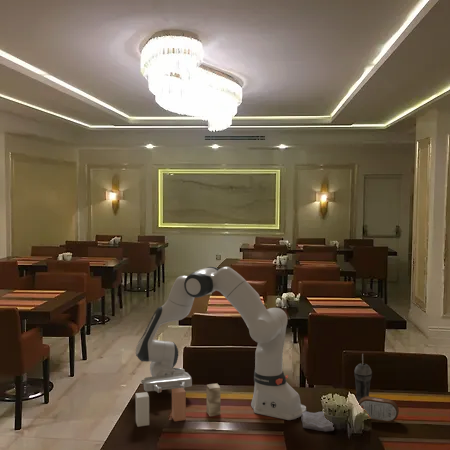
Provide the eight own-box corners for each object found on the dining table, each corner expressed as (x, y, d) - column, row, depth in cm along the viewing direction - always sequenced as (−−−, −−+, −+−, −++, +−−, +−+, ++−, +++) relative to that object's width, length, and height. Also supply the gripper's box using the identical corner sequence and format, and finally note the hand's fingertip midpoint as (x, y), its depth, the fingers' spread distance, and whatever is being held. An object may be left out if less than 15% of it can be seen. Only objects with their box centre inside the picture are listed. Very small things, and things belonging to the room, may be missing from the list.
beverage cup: (373, 399, 217) (374, 352, 216) (368, 405, 211) (369, 357, 210) (356, 395, 221) (357, 349, 220) (351, 401, 215) (352, 354, 214)
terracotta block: (182, 415, 201) (182, 387, 201) (185, 419, 197) (185, 391, 197) (171, 416, 200) (171, 388, 199) (174, 421, 196) (174, 393, 195)
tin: (398, 421, 197) (398, 399, 196) (398, 424, 194) (398, 402, 193) (357, 415, 202) (358, 394, 201) (357, 418, 199) (357, 397, 198)
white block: (147, 420, 197) (147, 391, 196) (149, 424, 193) (149, 396, 192) (135, 421, 196) (135, 393, 195) (137, 426, 191) (137, 397, 191)
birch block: (217, 410, 206) (217, 383, 205) (220, 414, 202) (220, 387, 201) (206, 411, 204) (206, 384, 204) (209, 416, 200) (209, 388, 200)
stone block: (335, 436, 188) (332, 419, 198) (335, 425, 187) (332, 408, 196) (302, 436, 189) (301, 419, 199) (302, 425, 188) (300, 408, 198)
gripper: (140, 372, 219) (145, 384, 206) (187, 368, 226) (195, 379, 213) (140, 387, 220) (145, 400, 207) (187, 382, 226) (195, 394, 213)
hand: (171, 389), depth 210 cm, fingers open, 8 cm apart
